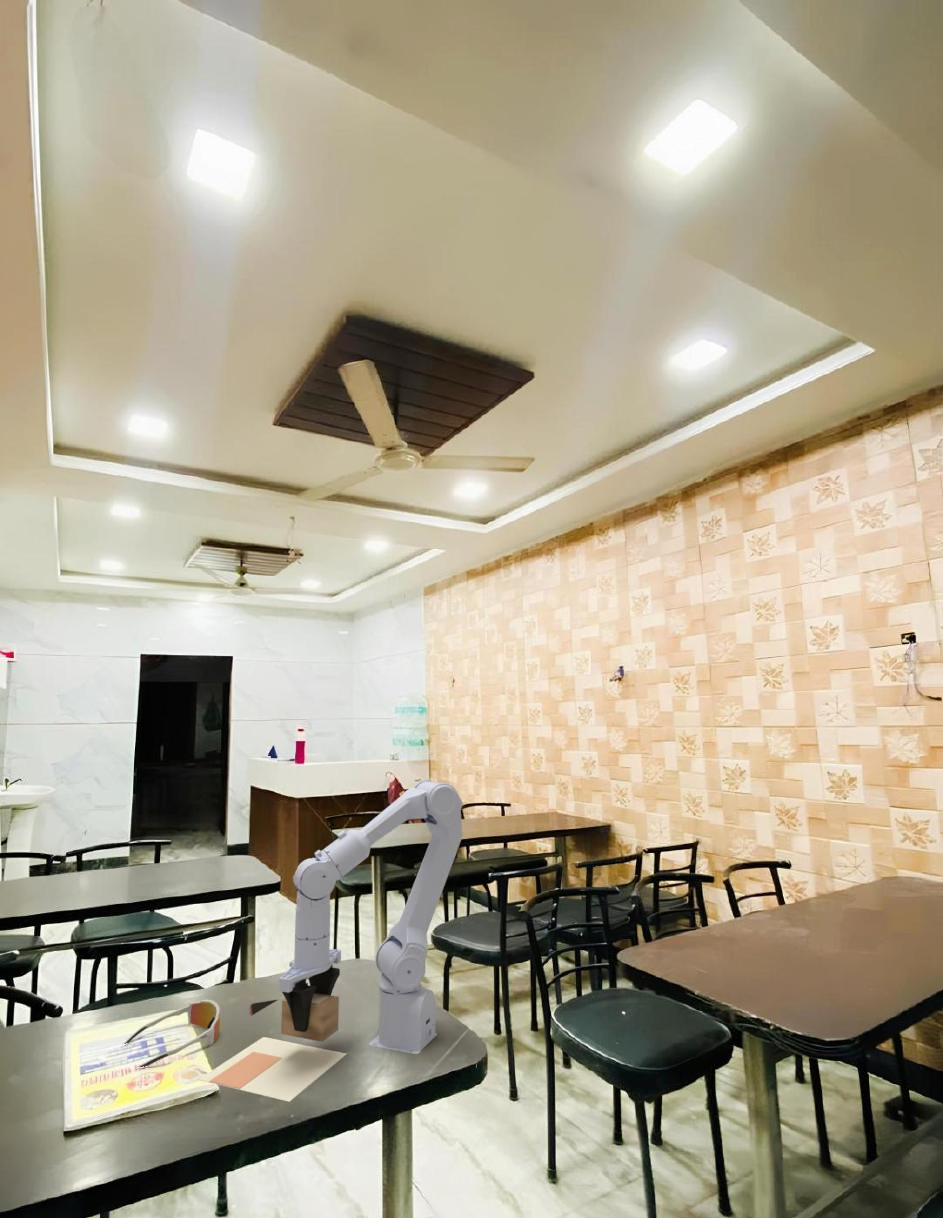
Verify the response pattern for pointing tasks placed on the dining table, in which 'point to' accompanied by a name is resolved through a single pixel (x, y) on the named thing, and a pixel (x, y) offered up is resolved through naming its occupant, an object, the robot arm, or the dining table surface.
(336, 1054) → the mat
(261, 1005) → the smartphone
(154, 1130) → the dining table surface
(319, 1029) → the card box
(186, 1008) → the sunglasses
